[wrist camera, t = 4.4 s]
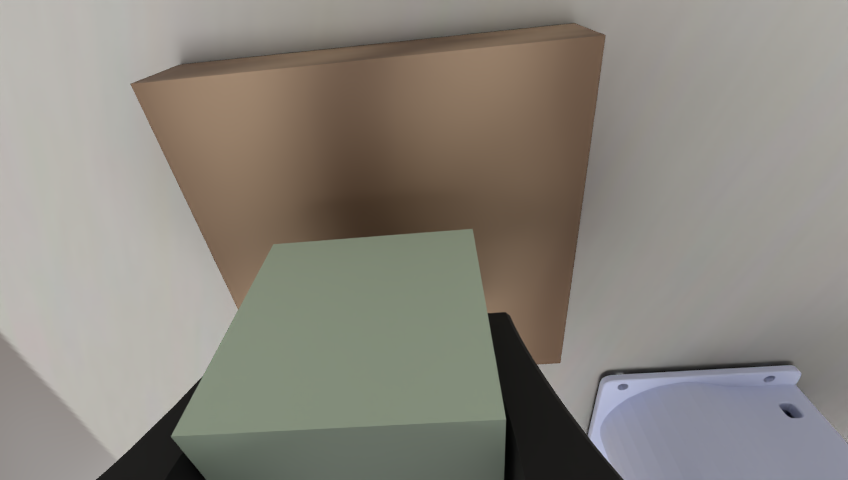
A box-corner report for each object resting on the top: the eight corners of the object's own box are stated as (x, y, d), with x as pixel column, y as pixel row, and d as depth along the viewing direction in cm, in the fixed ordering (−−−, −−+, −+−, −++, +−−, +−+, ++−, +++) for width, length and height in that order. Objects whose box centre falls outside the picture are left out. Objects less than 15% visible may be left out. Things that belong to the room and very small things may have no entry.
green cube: (472, 228, 10) (505, 419, 6) (476, 361, 13) (501, 553, 9) (273, 243, 10) (170, 436, 6) (320, 370, 13) (272, 560, 9)
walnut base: (574, 23, 12) (605, 34, 10) (545, 318, 19) (560, 362, 16) (179, 64, 13) (130, 84, 10) (288, 335, 19) (271, 379, 17)
